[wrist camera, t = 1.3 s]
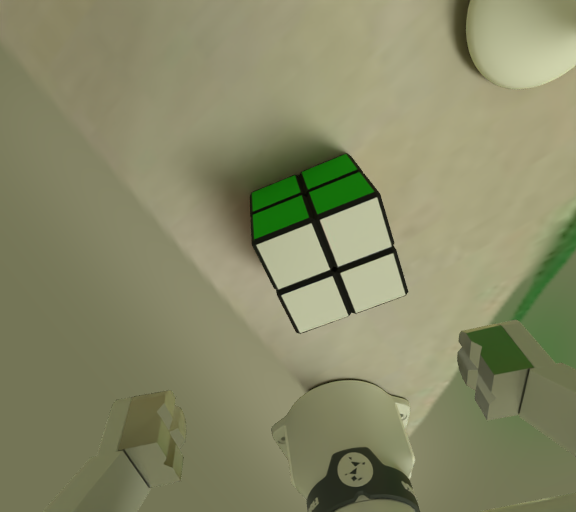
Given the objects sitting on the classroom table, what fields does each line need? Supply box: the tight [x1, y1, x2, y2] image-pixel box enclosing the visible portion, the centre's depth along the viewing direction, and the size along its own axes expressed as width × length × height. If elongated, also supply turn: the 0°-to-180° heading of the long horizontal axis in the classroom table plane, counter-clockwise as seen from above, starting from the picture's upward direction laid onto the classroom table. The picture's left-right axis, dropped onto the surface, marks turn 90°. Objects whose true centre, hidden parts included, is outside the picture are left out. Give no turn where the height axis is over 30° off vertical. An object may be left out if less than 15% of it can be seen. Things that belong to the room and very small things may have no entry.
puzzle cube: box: [250, 154, 408, 334], centre depth 36 cm, size 10×10×10 cm
